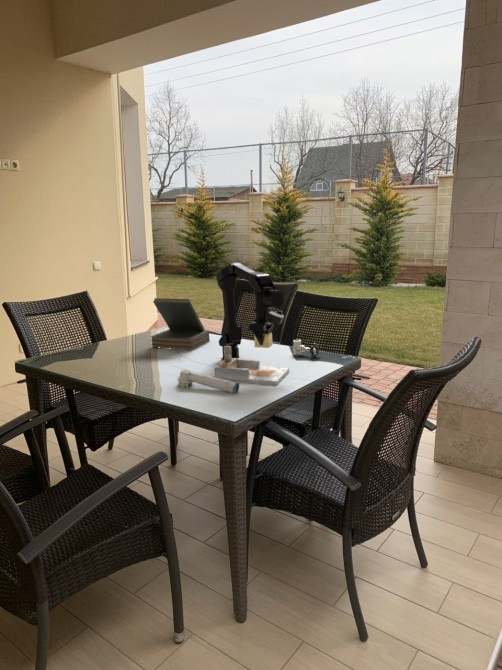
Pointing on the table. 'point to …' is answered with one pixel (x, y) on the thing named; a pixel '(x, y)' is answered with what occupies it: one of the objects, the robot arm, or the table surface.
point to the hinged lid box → (179, 325)
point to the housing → (264, 341)
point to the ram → (228, 358)
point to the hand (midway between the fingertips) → (263, 343)
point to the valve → (304, 348)
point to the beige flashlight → (206, 381)
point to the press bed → (251, 373)
